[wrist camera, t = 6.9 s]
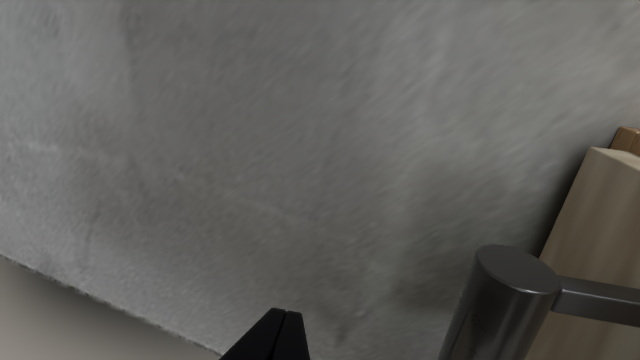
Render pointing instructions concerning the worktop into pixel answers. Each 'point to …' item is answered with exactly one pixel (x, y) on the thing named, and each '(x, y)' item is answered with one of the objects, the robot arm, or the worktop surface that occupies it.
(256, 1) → the worktop surface
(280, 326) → the robot arm
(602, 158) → the drawer
